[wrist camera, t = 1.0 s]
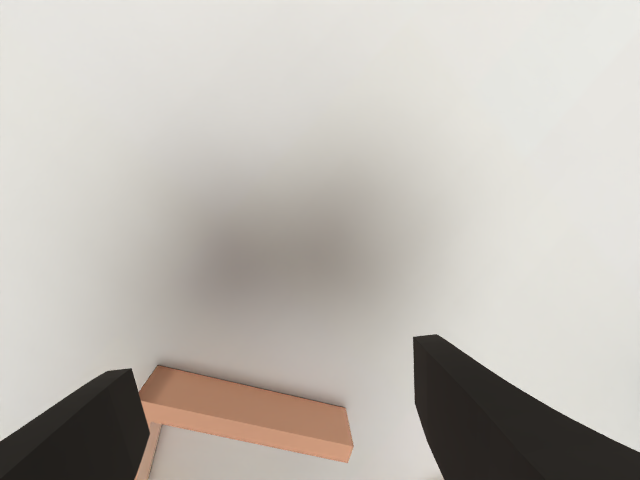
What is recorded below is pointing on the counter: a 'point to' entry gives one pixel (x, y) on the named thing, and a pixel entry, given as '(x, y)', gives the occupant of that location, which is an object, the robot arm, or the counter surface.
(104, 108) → the counter surface
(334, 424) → the terracotta bay
